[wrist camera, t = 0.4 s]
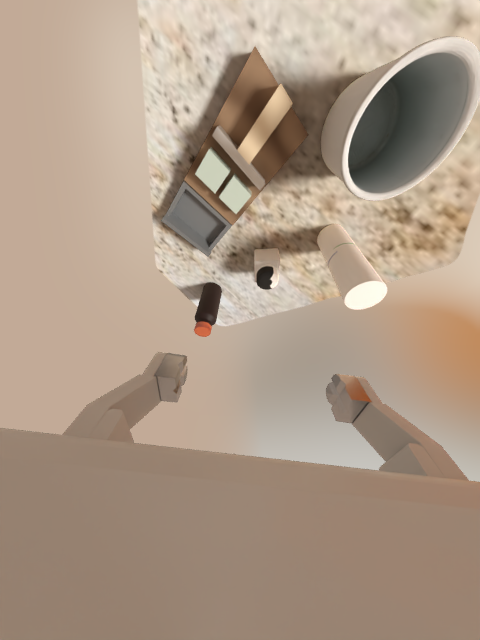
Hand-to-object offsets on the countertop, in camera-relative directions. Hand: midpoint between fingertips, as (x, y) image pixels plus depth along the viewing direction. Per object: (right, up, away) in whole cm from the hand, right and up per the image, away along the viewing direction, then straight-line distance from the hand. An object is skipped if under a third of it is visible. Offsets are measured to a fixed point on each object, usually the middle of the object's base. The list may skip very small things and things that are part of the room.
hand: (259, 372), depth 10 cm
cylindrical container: (+24, +26, +42) cm, 55 cm away
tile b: (-2, +32, +31) cm, 45 cm away
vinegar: (-11, +14, +58) cm, 61 cm away
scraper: (+3, +38, +24) cm, 45 cm away
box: (-12, +31, +39) cm, 51 cm away
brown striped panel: (-1, +39, +30) cm, 49 cm away
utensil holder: (+22, +40, +26) cm, 53 cm away
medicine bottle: (+7, +22, +48) cm, 53 cm away
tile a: (-6, +35, +29) cm, 45 cm away
